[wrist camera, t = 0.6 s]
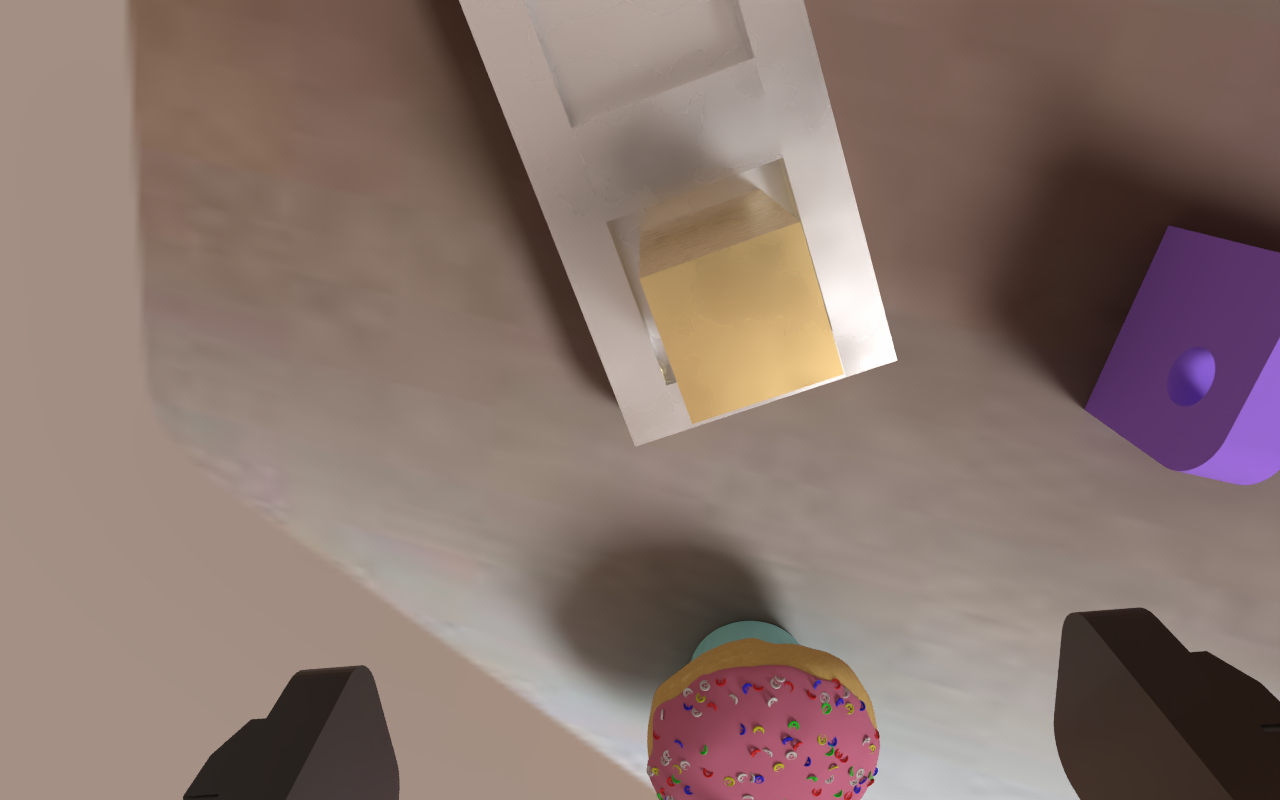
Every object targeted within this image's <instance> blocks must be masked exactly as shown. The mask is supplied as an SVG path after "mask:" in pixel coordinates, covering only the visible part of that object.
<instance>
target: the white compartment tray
mask: <svg viewBox="0 0 1280 800" xmlns="http://www.w3.org/2000/svg"><path fill="white" fill-rule="evenodd" d="M459 2H460V4H461V7H462V9H463V12H464V14H465V17H466V20H467V22H468V25H469V27H470V30H471V32H472V35H473V37H474V40H475V42H476V45H477V47H478V50H479V52H480V55H481V57H482V60H483V63H484V65H485V68H486V70H487V73H488V75H489V78H490V80H491V83H492V85H493V88H494V90H495V93H496V95H497V98H498V100H499V103H500V106H501V108H502V111H503V113H504V116H505V118H506V121H507V123H508V126H509V128H510V131H511V133H512V136H513V138H514V141H515V143H516V146H517V149H518V151H519V154H520V156H521V159H522V161H523V164H524V166H525V169H526V171H527V174H528V176H529V179H530V181H531V184H532V186H533V189H534V192H535V194H536V197H537V199H538V202H539V204H540V207H541V209H542V212H543V214H544V217H545V219H546V222H547V224H548V227H549V229H550V232H551V235H552V237H553V240H554V242H555V245H556V247H557V250H558V252H559V255H560V257H561V260H562V262H563V265H564V267H565V270H566V272H567V275H568V278H569V280H570V283H571V285H572V288H573V290H574V293H575V295H576V298H577V300H578V303H579V305H580V308H581V310H582V313H583V315H584V318H585V320H586V323H587V326H588V328H589V331H590V333H591V336H592V338H593V341H594V343H595V346H596V348H597V351H598V353H599V356H600V358H601V361H602V363H603V366H604V369H605V371H606V374H607V376H608V379H609V381H610V384H611V386H612V389H613V391H614V394H615V396H616V399H617V401H618V404H619V406H620V409H621V412H622V414H623V417H624V419H625V422H626V424H627V427H628V429H629V432H630V434H631V437H632V439H633V442H634V444H635V446H638V445H641V444H644V443H647V442H650V441H654V440H657V439H660V438H663V437H666V436H669V435H672V434H675V433H678V432H681V431H684V430H687V429H690V428H693V427H696V426H699V425H702V424H705V423H708V422H711V421H714V420H717V419H720V418H723V417H726V416H730V415H733V414H736V413H739V412H742V411H745V410H748V409H751V408H754V407H757V406H760V405H763V404H766V403H769V402H772V401H775V400H778V399H781V398H784V397H787V396H790V395H793V394H796V393H799V392H802V391H805V390H809V389H812V388H815V387H818V386H821V385H824V384H827V383H830V382H833V381H836V380H839V379H842V378H845V377H848V376H851V375H854V374H857V373H860V372H863V371H866V370H869V369H872V368H875V367H878V366H881V365H884V364H888V363H891V362H894V361H897V358H896V354H895V350H894V346H893V343H892V339H891V335H890V331H889V327H888V323H887V320H886V316H885V312H884V308H883V304H882V300H881V297H880V293H879V289H878V285H877V281H876V277H875V273H874V270H873V266H872V262H871V258H870V254H869V250H868V247H867V243H866V239H865V235H864V231H863V227H862V224H861V220H860V216H859V212H858V208H857V204H856V201H855V197H854V193H853V189H852V185H851V181H850V178H849V174H848V170H847V166H846V162H845V158H844V155H843V151H842V147H841V143H840V139H839V135H838V132H837V128H836V124H835V120H834V116H833V112H832V109H831V105H830V101H829V97H828V93H827V89H826V85H825V82H824V78H823V74H822V70H821V66H820V62H819V59H818V55H817V51H816V47H815V43H814V39H813V36H812V32H811V28H810V24H809V20H808V16H807V13H806V9H805V5H804V1H803V0H459ZM757 189H761V190H762V191H763V192H764V193H766V194H767V195H768V196H769V197H771V198H772V199H773V200H774V201H775V202H777V203H778V204H779V205H780V206H782V207H783V208H784V209H785V210H787V211H788V212H789V213H790V214H792V215H793V216H794V217H795V218H797V219H798V220H799V221H800V222H801V225H802V229H803V232H804V236H805V239H806V243H807V246H808V250H809V253H810V257H811V260H812V264H813V267H814V271H815V274H816V278H817V281H818V285H819V288H820V292H821V295H822V299H823V302H824V306H825V309H826V313H827V316H828V320H829V323H830V327H831V330H832V334H833V337H834V340H835V344H836V347H837V351H838V354H839V358H840V361H841V365H842V368H843V372H844V374H843V375H840V376H837V377H834V378H831V379H828V380H825V381H822V382H819V383H816V384H813V385H810V386H807V387H804V388H801V389H798V390H795V391H792V392H789V393H786V394H782V395H779V396H776V397H773V398H770V399H767V400H764V401H761V402H758V403H755V404H752V405H749V406H746V407H743V408H740V409H737V410H734V411H731V412H728V413H725V414H722V415H719V416H716V417H713V418H710V419H707V420H704V421H701V422H698V423H695V424H692V422H691V419H690V417H689V414H688V411H687V408H686V406H685V403H684V400H683V397H682V395H681V392H680V389H679V386H678V384H677V381H676V378H675V375H674V373H673V370H672V367H671V364H670V362H669V359H668V356H667V354H666V351H665V348H664V345H663V343H662V340H661V337H660V334H659V332H658V329H657V326H656V323H655V321H654V318H653V315H652V312H651V310H650V307H649V304H648V301H647V299H646V296H645V293H644V290H643V288H642V285H641V282H640V279H639V260H640V232H642V231H644V230H647V229H650V228H653V227H656V226H658V225H661V224H664V223H667V222H669V221H672V220H675V219H678V218H680V217H683V216H686V215H689V214H691V213H694V212H697V211H700V210H702V209H705V208H708V207H711V206H713V205H716V204H719V203H722V202H724V201H727V200H730V199H733V198H735V197H738V196H741V195H744V194H746V193H749V192H752V191H755V190H757Z"/></svg>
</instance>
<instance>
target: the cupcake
mask: <svg viewBox="0 0 1280 800" xmlns="http://www.w3.org/2000/svg"><path fill="white" fill-rule="evenodd" d="M647 744H648V756H649V760H648V765H647V774H648V775H649V777H650V779H651V782H652V784H653V786H654V788H655V790H656V792H657V796H658V798H659V800H860V799H861V798H862V796H863V795H864V793H865V792H866V790H867V788H868V786H870V785H872V784H873V783H874V778H873V777H872V776H875V775H876V774H877V772H878V769H877V768H876V765H877V760H878V755H879V749H880V741H879V732H878V731H877V726H876V720H875V715H874V710H873V706H872V703H871V700H870V698H869V696H868V694H867V692H866V690H865V689H864V688H863V686H862V684H861V682H860V681H859V679H858V677H857V676H856V675H855V673H854V672H853V671H852V669H851V668H850V667H849V666H848V665H847V664H846V663H845V662H843V661H842V660H840V659H839V658H837V657H835V656H833V655H831V654H829V653H827V652H824V651H820V650H815V649H811V648H808V647H805V646H801V645H799V644H798V642H797V641H796V640H795V639H794V638H793V637H792V636H791V635H790V634H789V633H787V632H786V631H784V630H783V629H781V628H779V627H777V626H775V625H772V624H769V623H765V622H760V621H740V622H735V623H731V624H727V625H725V626H722V627H720V628H718V629H716V630H715V631H713V632H712V633H710V634H709V635H708V636H707V637H706V638H705V639H704V640H703V641H702V642H701V643H700V644H699V645H698V647H697V648H696V650H695V652H694V654H693V656H692V659H691V662H690V663H689V664H687V665H686V666H685V667H683V668H682V669H681V670H679V671H678V672H677V673H675V674H674V675H673V676H671V677H670V678H669V679H667V680H666V681H665V682H664V683H662V684H661V685H660V686H659V688H658V689H657V690H656V692H655V695H654V698H653V701H652V707H651V713H650V719H649V724H648V740H647ZM874 772H875V773H874Z"/></svg>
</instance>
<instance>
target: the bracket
mask: <svg viewBox="0 0 1280 800" xmlns="http://www.w3.org/2000/svg"><path fill="white" fill-rule="evenodd" d="M1084 410H1086V411H1087V412H1088V413H1090V414H1091V415H1093V416H1094V417H1096V418H1097V419H1098V420H1100V421H1101V422H1103V423H1104V424H1105V425H1107V426H1108V427H1110V428H1111V429H1112V430H1114V431H1115V432H1117V433H1118V434H1119V435H1121V436H1122V437H1124V438H1125V439H1127V440H1128V441H1129V442H1131V443H1132V444H1134V445H1135V446H1136V447H1138V448H1139V449H1141V450H1142V451H1143V452H1145V453H1146V454H1148V455H1149V456H1150V457H1152V458H1153V459H1155V460H1156V461H1158V462H1159V463H1160V464H1162V465H1163V466H1165V467H1166V468H1169V469H1171V470H1175V471H1179V472H1184V473H1188V474H1193V475H1197V476H1201V477H1206V478H1210V479H1215V480H1219V481H1224V482H1228V483H1233V484H1238V485H1251V484H1256V483H1259V482H1262V481H1264V480H1266V479H1268V478H1269V477H1271V476H1272V475H1274V474H1275V473H1276V472H1277V471H1279V470H1280V253H1279V252H1274V251H1270V250H1266V249H1262V248H1258V247H1254V246H1250V245H1246V244H1242V243H1238V242H1234V241H1230V240H1226V239H1222V238H1218V237H1214V236H1210V235H1206V234H1202V233H1198V232H1193V231H1189V230H1185V229H1181V228H1177V227H1173V226H1169V225H1168V228H1167V230H1166V232H1165V234H1164V236H1163V239H1162V241H1161V243H1160V245H1159V247H1158V250H1157V252H1156V254H1155V256H1154V258H1153V260H1152V263H1151V265H1150V267H1149V269H1148V271H1147V274H1146V276H1145V278H1144V280H1143V282H1142V285H1141V287H1140V289H1139V291H1138V293H1137V295H1136V298H1135V300H1134V302H1133V304H1132V306H1131V309H1130V311H1129V313H1128V315H1127V317H1126V319H1125V322H1124V324H1123V326H1122V328H1121V330H1120V333H1119V335H1118V337H1117V339H1116V341H1115V344H1114V346H1113V348H1112V350H1111V352H1110V354H1109V357H1108V359H1107V361H1106V363H1105V365H1104V368H1103V370H1102V372H1101V374H1100V376H1099V378H1098V381H1097V383H1096V385H1095V387H1094V389H1093V392H1092V394H1091V396H1090V398H1089V400H1088V403H1087V405H1086V407H1085V409H1084Z"/></svg>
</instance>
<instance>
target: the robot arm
mask: <svg viewBox="0 0 1280 800" xmlns="http://www.w3.org/2000/svg"><path fill="white" fill-rule="evenodd" d="M1054 733H1055V740H1056V746H1057V750H1058V754H1059V757H1060V760H1061V763H1062V766H1063V768H1064V771H1065V773H1066V775H1067V778H1068V779H1069V781H1070V783H1071V785H1072V786H1073V788H1074V790H1075V791H1076V793H1077V795H1078V796H1079V798H1080V800H1280V701H1279V700H1278V699H1277V698H1276V697H1275V696H1274V695H1273V694H1272V693H1270V692H1269V691H1268V690H1267V689H1266V688H1265V687H1264V686H1263V685H1262V684H1261V683H1260V682H1258V681H1257V680H1255V679H1253V678H1252V677H1250V676H1248V675H1246V674H1245V673H1243V672H1241V671H1240V670H1238V669H1236V668H1235V667H1233V666H1231V665H1229V664H1228V663H1226V662H1224V661H1223V660H1221V659H1219V658H1218V657H1216V656H1214V655H1212V654H1211V653H1209V652H1207V651H1202V652H1189V651H1188V650H1187V649H1186V648H1185V647H1184V646H1183V645H1182V644H1181V643H1180V642H1179V640H1178V639H1177V638H1176V637H1175V636H1174V635H1173V634H1172V633H1171V632H1170V631H1169V630H1168V629H1167V628H1166V627H1165V626H1164V625H1163V624H1162V623H1161V622H1160V620H1159V619H1158V618H1157V617H1156V616H1155V615H1153V614H1152V613H1151V612H1150V611H1148V610H1147V609H1144V608H1127V609H1114V610H1101V611H1088V612H1075V613H1071V614H1069V615H1068V616H1067V617H1066V619H1065V621H1064V624H1063V629H1062V637H1061V648H1060V659H1059V669H1058V680H1057V691H1056V701H1055V712H1054ZM183 800H399V770H398V765H397V761H396V757H395V753H394V749H393V746H392V742H391V738H390V735H389V732H388V727H387V724H386V720H385V717H384V713H383V709H382V706H381V702H380V698H379V695H378V691H377V687H376V684H375V681H374V677H373V675H372V673H371V671H370V670H369V669H368V668H367V667H366V666H363V665H361V666H349V667H335V668H323V669H309V670H300V671H299V672H297V673H296V674H295V675H294V676H293V677H292V678H291V680H290V681H289V683H288V684H287V686H286V688H285V689H284V691H283V692H282V694H281V696H280V697H279V699H278V700H277V702H276V704H275V705H274V707H273V708H272V710H271V712H270V713H269V715H268V717H267V718H265V719H253V720H250V721H249V722H248V723H247V724H246V725H244V726H243V727H242V728H241V729H240V730H239V731H238V732H237V733H235V734H234V735H233V736H232V737H231V738H230V739H229V740H228V741H226V742H225V743H224V744H223V745H222V746H221V747H220V748H218V749H217V750H216V751H215V752H214V753H213V754H212V755H211V756H210V757H209V759H208V760H207V762H206V763H205V765H204V766H203V768H202V769H201V771H200V772H199V773H198V775H197V777H196V778H195V779H194V781H193V783H192V784H191V785H190V787H189V788H188V790H187V791H186V793H185V794H184V796H183Z"/></svg>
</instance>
